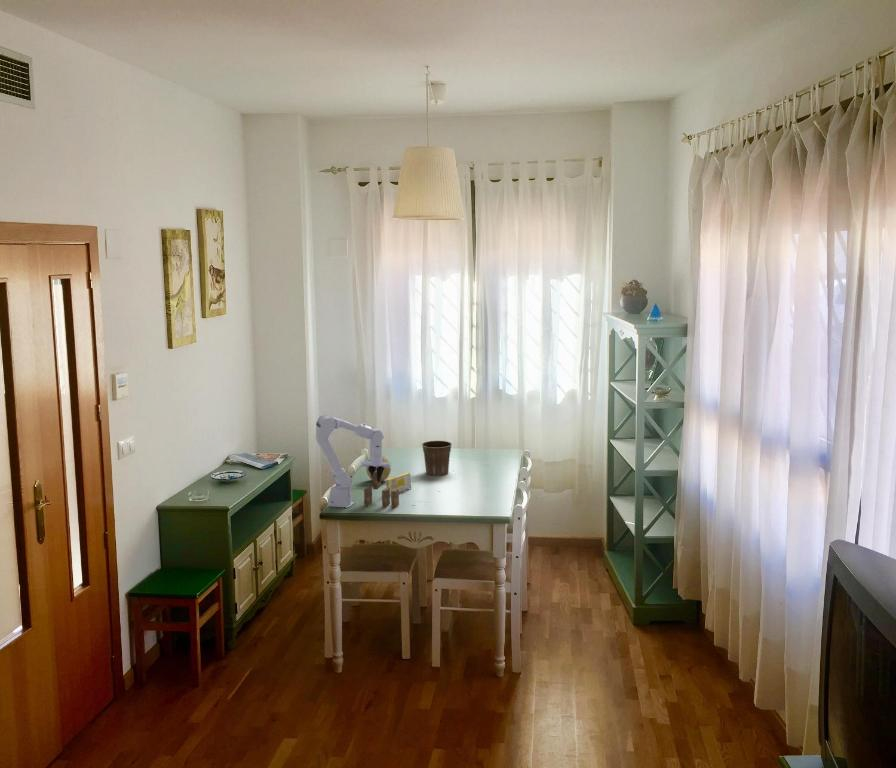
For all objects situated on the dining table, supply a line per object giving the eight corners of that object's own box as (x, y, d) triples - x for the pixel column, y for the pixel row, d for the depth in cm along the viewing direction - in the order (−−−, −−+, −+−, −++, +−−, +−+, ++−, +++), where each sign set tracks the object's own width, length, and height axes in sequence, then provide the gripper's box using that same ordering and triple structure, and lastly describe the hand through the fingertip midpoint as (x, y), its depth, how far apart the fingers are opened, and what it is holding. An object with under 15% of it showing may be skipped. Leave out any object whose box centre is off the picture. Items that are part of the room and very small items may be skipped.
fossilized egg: (381, 485, 442) (380, 457, 439) (361, 482, 448) (360, 454, 446) (395, 479, 452) (395, 452, 450) (376, 476, 459) (375, 449, 457)
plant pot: (451, 476, 457) (451, 447, 455) (421, 477, 458) (420, 447, 455) (452, 469, 473) (452, 440, 471) (423, 469, 474) (422, 440, 471)
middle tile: (382, 507, 404) (381, 490, 403) (386, 504, 409) (385, 487, 408) (386, 507, 404) (385, 490, 402) (390, 504, 408) (389, 488, 407)
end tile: (364, 505, 407) (364, 489, 405) (368, 502, 411) (367, 486, 410) (368, 506, 406) (367, 489, 405) (372, 503, 411) (371, 486, 410)
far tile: (391, 507, 403) (391, 491, 402) (395, 504, 408) (394, 488, 406) (395, 508, 402) (395, 491, 401) (399, 505, 407) (398, 488, 406)
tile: (373, 489, 412) (372, 472, 411) (376, 486, 416) (376, 470, 415) (376, 489, 411) (376, 473, 410) (380, 486, 416) (380, 470, 415)
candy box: (408, 488, 436) (407, 472, 435) (411, 488, 435) (411, 473, 434) (386, 495, 424) (385, 479, 423) (389, 496, 423) (388, 479, 421)
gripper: (393, 452, 413) (393, 480, 415) (364, 451, 417) (365, 478, 419) (388, 456, 406) (388, 484, 408) (359, 454, 410) (360, 482, 412)
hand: (376, 481), depth 413 cm, fingers closed on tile, 2 cm apart
